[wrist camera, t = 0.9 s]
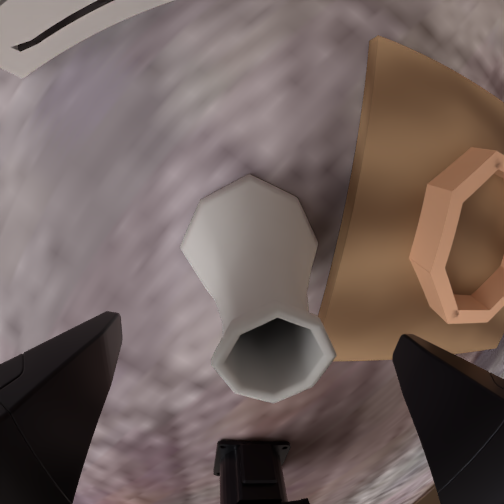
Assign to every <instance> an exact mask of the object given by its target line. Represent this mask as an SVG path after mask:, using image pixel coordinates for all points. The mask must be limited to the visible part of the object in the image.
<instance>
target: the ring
mask: <svg viewBox="0 0 504 504" xmlns="http://www.w3.org/2000/svg"><path fill="white" fill-rule="evenodd" d="M493 174H495V175H497V176H499V177H501V178H503V179H504V155H503V154H501V153H499V152H498V151H496V150H489V149H482V148H475V147H471V148H470V149H468V150H467V151H466V152H465V153H464V154H463V155H461V156H460V157H459V158H458V159H457V160H456V161H454V162H453V163H452V164H451V165H450V166H448V167H447V168H446V169H445V170H444V171H442V172H441V173H440V174H439V175H438V176H436V177H435V178H434V179H433V180H431V181H430V182H429V183H428V184H427V187H426V192H425V197H424V201H423V206H422V210H421V214H420V219H419V223H418V227H417V230H416V234H415V238H414V242H413V245H412V249H411V252H410V256H409V259H410V261H411V263H412V266H413V268H414V270H415V272H416V275H417V277H418V279H419V282H420V284H421V286H422V289H423V291H424V294H425V296H426V299H427V301H428V304H429V306H430V307H431V308H432V309H433V310H434V311H435V312H436V313H437V314H438V315H439V316H440V317H441V318H442V319H443V320H444V321H445V322H446V323H447V324H463V323H486V322H488V321H489V320H490V319H491V318H492V317H493V316H494V315H495V314H496V313H497V312H498V311H499V310H500V309H501V308H502V307H503V306H504V256H503V259H502V263H501V266H500V267H499V268H498V269H497V270H496V271H495V272H494V273H493V274H492V275H491V276H490V277H489V278H488V279H487V280H486V281H485V282H484V283H483V284H482V285H481V286H480V287H479V288H478V289H477V290H476V291H475V292H474V293H473V294H472V295H457V294H453V291H452V288H451V285H450V282H449V279H448V276H447V273H446V270H445V266H446V263H447V260H448V256H449V253H450V250H451V246H452V243H453V239H454V236H455V232H456V228H457V225H458V221H459V217H460V213H461V208H462V204H463V202H464V201H465V200H466V199H468V198H469V197H470V196H471V195H472V194H473V193H474V192H475V191H476V190H477V189H478V188H479V187H480V186H481V185H482V184H483V183H485V182H486V181H487V180H488V179H489V178H490V177H491V176H492V175H493Z"/></svg>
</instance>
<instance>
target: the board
mask: <svg viewBox="0 0 504 504" xmlns="http://www.w3.org/2000/svg"><path fill="white" fill-rule="evenodd" d="M471 147H475V148H482V149H489V150H496V151H498V152H499V153H501V154H503V155H504V102H502V101H501V100H500V99H498V98H497V97H495V96H494V95H492V94H491V93H489V92H488V91H486V90H485V89H483V88H482V87H480V86H479V85H477V84H475V83H474V82H472V81H471V80H469V79H467V78H466V77H464V76H462V75H461V74H459V73H457V72H455V71H454V70H452V69H450V68H448V67H446V66H444V65H443V64H441V63H439V62H437V61H435V60H433V59H431V58H429V57H427V56H425V55H423V54H421V53H419V52H416V51H414V50H412V49H410V48H408V47H405V46H403V45H401V44H399V43H396V42H394V41H391V40H389V39H386V38H384V37H381V36H379V35H378V36H377V37H375V38H373V39H372V40H370V41H369V51H368V61H367V71H366V80H365V88H364V96H363V104H362V111H361V118H360V125H359V131H358V138H357V144H356V150H355V156H354V161H353V167H352V173H351V178H350V183H349V188H348V193H347V198H346V203H345V208H344V213H343V218H342V222H341V227H340V231H339V236H338V240H337V244H336V249H335V253H334V257H333V261H332V265H331V269H330V273H329V277H328V281H327V285H326V289H325V292H324V296H323V300H322V303H321V307H320V311H319V314H318V317H319V318H320V320H321V322H322V324H323V326H324V328H325V330H326V332H327V335H328V337H329V339H330V341H331V343H332V345H333V347H334V349H335V352H336V354H337V356H336V357H335V359H334V360H333V361H369V360H391V359H392V355H393V352H394V350H395V347H396V345H397V343H398V340H399V338H400V336H401V335H403V334H414V335H416V336H418V337H420V338H422V339H424V340H426V341H428V342H430V343H432V344H434V345H436V346H438V347H440V348H442V349H444V350H446V351H448V352H450V353H452V354H459V353H467V352H474V351H481V350H487V349H494V348H497V346H498V344H499V342H500V340H501V338H502V336H503V334H504V306H503V307H502V308H501V309H500V310H499V311H498V312H497V313H496V314H495V315H494V316H493V317H492V318H491V319H490V320H489V321H488V322H486V323H463V324H447V323H446V322H445V321H444V320H443V319H442V318H441V317H440V316H439V315H438V314H437V313H436V312H435V311H434V310H433V309H432V308H431V307H430V306H429V304H428V301H427V299H426V296H425V294H424V291H423V289H422V286H421V284H420V282H419V279H418V277H417V275H416V272H415V270H414V268H413V266H412V263H411V261H410V259H409V256H410V252H411V249H412V245H413V242H414V238H415V234H416V230H417V227H418V223H419V219H420V214H421V210H422V206H423V201H424V197H425V192H426V187H427V184H428V183H429V182H430V181H431V180H433V179H434V178H435V177H436V176H438V175H439V174H440V173H441V172H442V171H444V170H445V169H446V168H447V167H448V166H450V165H451V164H452V163H453V162H454V161H456V160H457V159H458V158H459V157H460V156H461V155H463V154H464V153H465V152H466V151H467V150H468V149H470V148H471ZM503 256H504V179H503V178H501V177H499V176H497V175H495V174H493V175H492V176H491V177H490V178H489V179H488V180H487V181H486V182H485V183H483V184H482V185H481V186H480V187H479V188H478V189H477V190H476V191H475V192H474V193H473V194H472V195H471V196H470V197H469V198H468V199H466V200H465V201H464V202H463V204H462V208H461V213H460V217H459V221H458V225H457V228H456V232H455V236H454V239H453V243H452V246H451V250H450V253H449V256H448V260H447V263H446V266H445V270H446V273H447V276H448V279H449V282H450V285H451V288H452V291H453V294H457V295H472V294H473V293H474V292H475V291H476V290H477V289H478V288H479V287H480V286H481V285H482V284H483V283H484V282H485V281H486V280H487V279H488V278H489V277H490V276H491V275H492V274H493V273H494V272H495V271H496V270H497V269H498V268H499V267H500V266H501V263H502V259H503Z"/></svg>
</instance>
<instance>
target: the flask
mask: <svg viewBox="0 0 504 504" xmlns="http://www.w3.org/2000/svg"><path fill="white" fill-rule="evenodd" d="M317 246H318V241H317V239H316V237H315V234H314V232H313V230H312V228H311V226H310V223H309V221H308V219H307V217H306V215H305V213H304V210H303V208H302V206H301V204H300V202H299V200H298V198H297V197H295V196H293V195H291V194H289V193H287V192H285V191H283V190H281V189H279V188H277V187H275V186H273V185H271V184H269V183H267V182H265V181H263V180H261V179H259V178H257V177H254V176H252V175H250V174H248V175H246V176H244V177H242V178H240V179H238V180H236V181H235V182H233V183H231V184H229V185H227V186H225V187H223V188H221V189H219V190H218V191H216V192H214V193H212V194H210V195H208V196H206V197H205V198H203V199H201V200H200V202H199V204H198V206H197V208H196V211H195V213H194V215H193V217H192V220H191V222H190V224H189V227H188V229H187V231H186V234H185V236H184V238H183V241H182V243H181V245H180V249H181V250H182V252H183V253H184V255H185V257H186V258H187V260H188V261H189V263H190V265H191V266H192V268H193V269H194V271H195V273H196V274H197V276H198V277H199V279H200V280H201V282H202V283H203V285H204V287H205V288H206V290H207V291H208V293H209V294H210V295H211V296H212V297H213V299H214V300H215V302H216V305H217V308H218V311H219V314H220V317H221V320H222V325H223V337H222V339H221V341H220V343H219V345H218V346H217V348H216V350H215V352H214V354H213V356H212V358H211V365H212V366H213V368H214V369H215V370H216V371H217V373H218V374H219V375H220V376H221V378H222V379H223V380H224V381H225V382H226V384H227V385H228V386H229V387H230V388H231V389H232V391H233V392H234V393H236V394H239V395H243V396H247V397H250V398H254V399H258V400H262V401H266V402H270V403H276V402H278V401H281V400H283V399H286V398H288V397H291V396H293V395H295V394H298V393H300V392H302V391H305V390H307V389H309V388H311V387H313V386H314V385H315V383H316V382H317V381H318V380H319V378H320V377H321V376H322V375H323V373H324V372H325V371H326V369H327V368H328V367H329V365H330V364H331V363H332V361H333V360H334V359H335V357H336V356H337V354H336V352H335V349H334V347H333V345H332V343H331V341H330V339H329V337H328V335H327V332H326V330H325V328H324V326H323V324H322V322H321V320H320V318H319V317H318V316H317V315H315V314H312V313H309V307H308V298H307V289H308V284H309V279H310V274H311V269H312V264H313V261H314V258H315V254H316V251H317Z"/></svg>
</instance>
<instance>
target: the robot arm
mask: <svg viewBox="0 0 504 504" xmlns="http://www.w3.org/2000/svg"><path fill="white" fill-rule="evenodd" d="M121 345H122V326H121V316H120V314H119V313H115V312H109V311H106V312H104V313H102V314H100V315H98V316H96V317H94V318H92V319H90V320H88V321H86V322H84V323H82V324H80V325H78V326H76V327H74V328H72V329H70V330H68V331H66V332H64V333H62V334H60V335H58V336H56V337H54V338H52V339H50V340H48V341H46V342H44V343H42V344H40V345H38V346H36V347H34V348H32V349H30V350H28V351H26V352H24V353H23V354H20V355H18V356H16V357H14V358H12V359H10V360H8V361H6V362H4V363H2V364H0V504H72V503H73V500H74V496H75V492H76V489H77V485H78V482H79V478H80V475H81V472H82V468H83V465H84V462H85V459H86V455H87V452H88V449H89V446H90V443H91V440H92V437H93V434H94V431H95V428H96V425H97V422H98V420H99V417H100V414H101V411H102V408H103V406H104V403H105V400H106V398H107V395H108V392H109V389H110V387H111V383H112V380H113V376H114V372H115V368H116V364H117V360H118V356H119V352H120V348H121ZM392 360H393V363H394V366H395V370H396V373H397V376H398V380H399V383H400V387H401V390H402V393H403V396H404V399H405V401H406V404H407V406H408V409H409V412H410V414H411V417H412V419H413V422H414V425H415V427H416V430H417V433H418V436H419V438H420V441H421V444H422V447H423V450H424V452H425V455H426V458H427V461H428V464H429V467H430V470H431V473H432V476H433V480H434V483H435V486H436V489H437V492H438V496H439V500H440V503H441V504H504V379H502V378H500V377H498V376H496V375H494V374H492V373H489V372H488V371H486V370H484V369H482V368H480V367H478V366H476V365H474V364H472V363H470V362H468V361H466V360H464V359H462V358H460V357H458V356H456V355H454V354H452V353H450V352H448V351H446V350H444V349H442V348H440V347H438V346H436V345H434V344H432V343H430V342H428V341H426V340H424V339H422V338H420V337H418V336H416V335H414V334H403V335H401V336H400V338H399V340H398V343H397V345H396V347H395V350H394V352H393V355H392ZM289 450H290V443H289V442H238V441H219V442H218V443H217V449H216V457H215V464H214V475H216V476H220V504H310V503H309V501H308V498H305V499H301V500H297V501H290V502H288V500H287V494H286V489H285V483H284V477H283V472H282V465H283V463H284V460H285V458H286V456H287V454H288V452H289Z"/></svg>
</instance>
